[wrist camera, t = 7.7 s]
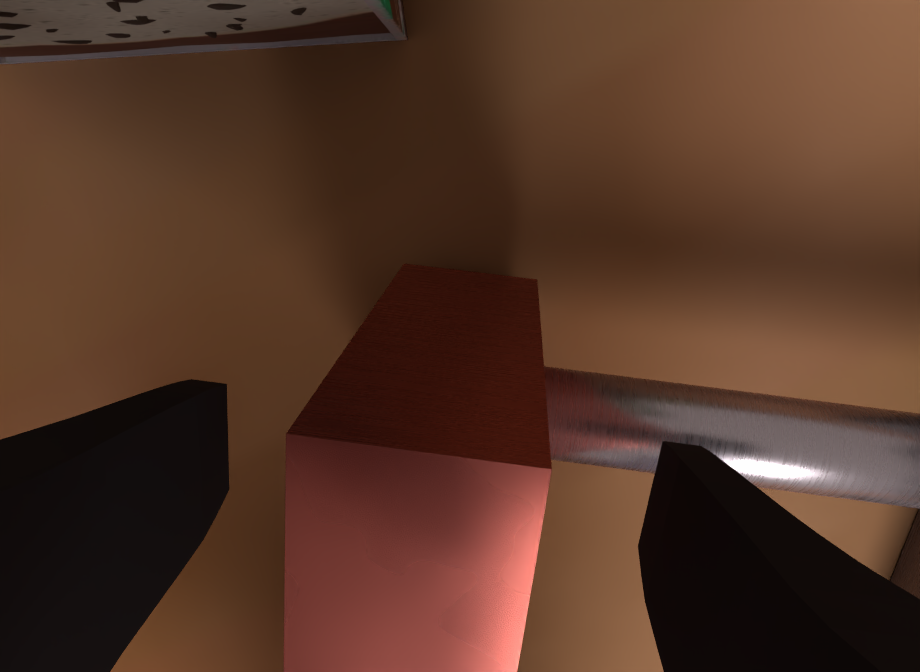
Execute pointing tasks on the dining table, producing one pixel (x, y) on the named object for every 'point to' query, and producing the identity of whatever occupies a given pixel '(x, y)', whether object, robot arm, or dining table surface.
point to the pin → (503, 470)
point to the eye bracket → (909, 562)
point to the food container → (186, 26)
